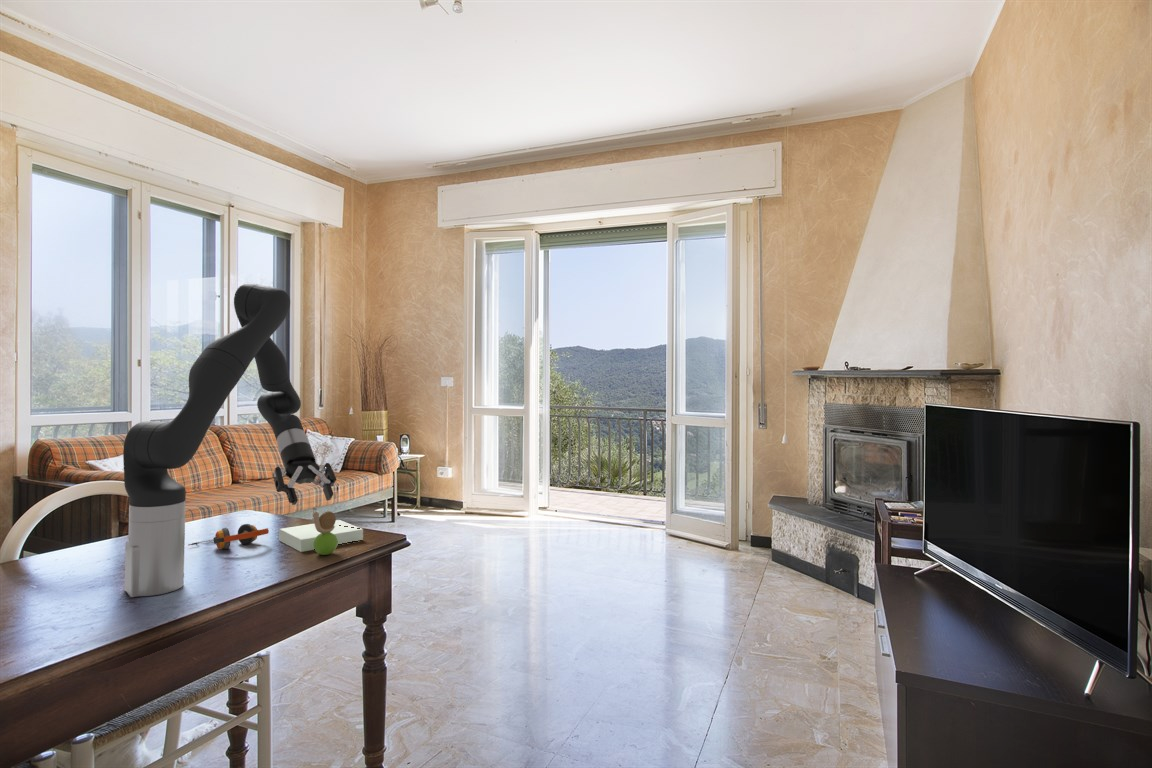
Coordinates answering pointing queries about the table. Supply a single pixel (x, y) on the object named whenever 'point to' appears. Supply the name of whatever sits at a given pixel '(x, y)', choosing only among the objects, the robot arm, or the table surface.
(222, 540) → the headphones
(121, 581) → the table surface
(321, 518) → the snail figurine
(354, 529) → the sage board
